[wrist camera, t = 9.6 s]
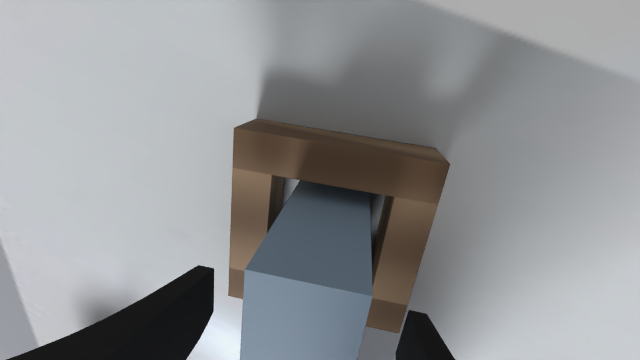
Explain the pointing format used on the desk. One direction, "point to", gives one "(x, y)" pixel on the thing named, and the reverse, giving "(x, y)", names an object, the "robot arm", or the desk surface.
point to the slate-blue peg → (310, 278)
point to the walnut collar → (347, 172)
